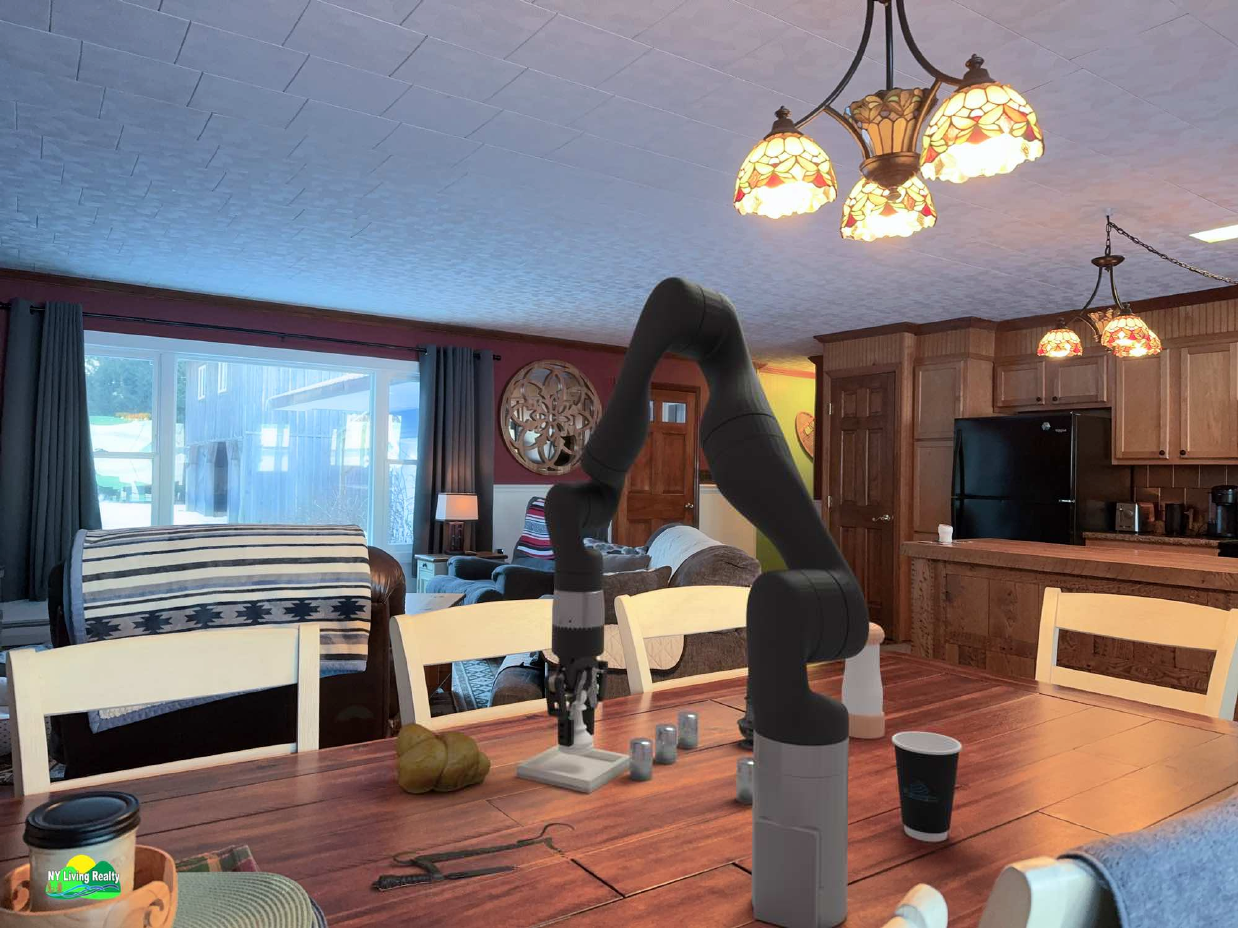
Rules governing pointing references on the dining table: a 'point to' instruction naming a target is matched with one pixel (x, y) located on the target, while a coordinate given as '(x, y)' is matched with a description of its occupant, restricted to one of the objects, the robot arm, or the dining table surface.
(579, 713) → the chess pawn
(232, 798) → the dining table surface
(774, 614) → the robot arm
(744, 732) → the grey chess piece
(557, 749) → the square tray
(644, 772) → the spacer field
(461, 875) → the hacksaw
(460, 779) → the bread roll
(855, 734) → the pepper shaker
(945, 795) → the dixie cup
